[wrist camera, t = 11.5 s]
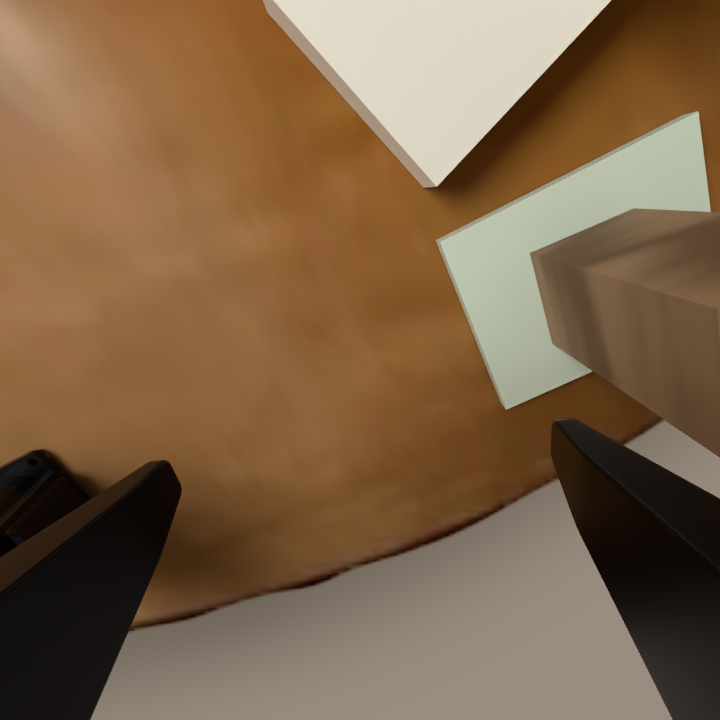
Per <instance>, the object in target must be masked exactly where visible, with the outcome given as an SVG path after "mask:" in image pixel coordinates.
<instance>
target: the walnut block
mask: <svg viewBox="0 0 720 720" xmlns="http://www.w3.org/2000/svg"><path fill="white" fill-rule="evenodd" d="M530 256H531V260H532V264H533V268H534V272H535V276H536V280H537V284H538V288H539V292H540V296H541V300H542V304H543V308H544V312H545V316H546V320H547V324H548V328H549V332H550V336H551V340H552V344H554V345H555V346H556V347H558V348H559V349H561V350H562V351H564V352H565V353H567V354H568V355H570V356H571V357H573V358H574V359H576V360H577V361H579V362H580V363H582V364H583V365H584V366H586V367H587V368H589V369H590V370H592V371H593V372H595V373H596V374H598V375H599V376H601V377H602V378H604V379H605V380H607V381H608V382H610V383H611V384H612V385H614V386H615V387H617V388H618V389H620V390H621V391H623V392H624V393H626V394H627V395H629V396H630V397H632V398H633V399H635V400H636V401H638V402H639V403H640V404H642V405H643V406H645V407H646V408H648V409H649V410H651V411H652V412H654V413H655V414H657V415H658V416H660V417H661V418H663V419H664V420H666V421H667V422H669V423H670V424H672V425H673V426H674V427H676V428H677V429H679V430H680V431H682V432H683V433H685V434H686V435H688V436H689V437H691V438H692V439H694V440H695V441H697V442H698V443H699V444H701V445H702V446H704V447H706V448H707V449H708V450H710V451H711V452H713V453H714V454H716V455H717V456H719V457H720V212H701V211H679V210H658V209H637V208H633V209H631V210H629V211H626V212H624V213H622V214H620V215H617V216H615V217H613V218H610V219H608V220H606V221H603V222H601V223H599V224H596V225H594V226H592V227H589V228H587V229H585V230H582V231H580V232H578V233H575V234H573V235H571V236H568V237H566V238H564V239H561V240H559V241H557V242H554V243H552V244H550V245H547V246H545V247H543V248H540V249H538V250H536V251H533V252H531V253H530Z"/></svg>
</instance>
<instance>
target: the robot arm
mask: <svg viewBox="0 0 720 720" xmlns="http://www.w3.org/2000/svg"><path fill="white" fill-rule="evenodd" d="M551 456H552V460H553V463H554V466H555V469H556V472H557V474H558V477H559V480H560V483H561V485H562V488H563V491H564V494H565V496H566V499H567V502H568V505H569V508H570V510H571V513H572V516H573V518H574V521H575V524H576V526H577V528H578V530H579V533H580V535H581V537H582V539H583V541H584V543H585V545H586V547H587V549H588V551H589V553H590V555H591V557H592V559H593V561H594V563H595V565H596V567H597V569H598V571H599V573H600V575H601V577H602V579H603V581H604V583H605V585H606V587H607V589H608V591H609V593H610V595H611V597H612V599H613V601H614V603H615V605H616V607H617V609H618V611H619V613H620V615H621V617H622V619H623V621H624V623H625V625H626V627H627V629H628V631H629V633H630V635H631V637H632V639H633V641H634V643H635V645H636V647H637V649H638V651H639V653H640V655H641V657H642V659H643V661H644V663H645V665H646V667H647V669H648V671H649V673H650V675H651V677H652V679H653V681H654V683H655V685H656V687H657V689H658V691H659V693H660V695H661V697H662V699H663V701H664V703H665V705H666V707H667V709H668V711H669V713H670V715H671V717H672V719H673V720H720V499H719V498H717V497H716V496H714V495H712V494H710V493H708V492H707V491H705V490H703V489H701V488H699V487H698V486H696V485H694V484H692V483H690V482H688V481H686V480H685V479H683V478H681V477H680V476H678V475H676V474H674V473H672V472H671V471H669V470H667V469H665V468H663V467H661V466H660V465H658V464H656V463H654V462H652V461H650V460H649V459H647V458H645V457H643V456H642V455H640V454H638V453H636V452H634V451H632V450H631V449H629V448H627V447H625V446H623V445H622V444H620V443H618V442H616V441H614V440H613V439H611V438H609V437H607V436H605V435H603V434H602V433H600V432H598V431H596V430H594V429H593V428H591V427H589V426H587V425H585V424H584V423H582V422H580V421H578V420H576V419H573V418H568V419H559V420H555V421H553V423H552V431H551ZM34 459H35V460H37V461H35V460H34ZM180 496H181V484H180V482H179V480H178V478H177V476H176V474H175V472H174V470H173V468H172V466H171V464H170V463H169V462H168V461H166V460H159V461H151V462H149V463H147V464H145V465H144V466H142V467H141V468H139V469H137V470H136V471H134V472H133V473H131V474H130V475H128V476H127V477H125V478H123V479H122V480H120V481H119V482H117V483H116V484H114V485H113V486H111V487H109V488H108V489H106V490H105V491H103V492H102V493H100V494H99V495H97V496H95V497H94V498H92V499H91V500H90V499H89V498H88V497H87V496H86V495H85V494H84V493H83V492H82V491H81V490H80V489H79V488H78V487H77V486H76V485H75V484H74V483H73V482H72V481H71V480H70V479H69V478H68V477H67V476H66V475H65V474H64V473H63V472H62V471H61V470H60V469H59V468H58V467H57V466H56V465H55V464H54V463H53V462H52V461H51V460H50V459H49V458H48V457H47V456H46V455H45V454H44V453H43V452H41V451H37V450H34V451H30V452H28V453H26V454H25V455H23V456H21V457H19V458H17V459H15V460H13V461H11V462H9V463H7V464H5V465H3V466H1V467H0V720H90V719H91V717H92V715H93V712H94V710H95V708H96V705H97V703H98V701H99V699H100V696H101V694H102V692H103V689H104V687H105V684H106V682H107V680H108V677H109V675H110V673H111V671H112V668H113V666H114V664H115V661H116V659H117V657H118V654H119V652H120V650H121V647H122V645H123V643H124V641H125V638H126V636H127V634H128V631H129V629H130V627H131V624H132V622H133V620H134V617H135V615H136V613H137V610H138V608H139V606H140V603H141V601H142V599H143V596H144V594H145V592H146V589H147V587H148V585H149V582H150V580H151V578H152V576H153V573H154V571H155V569H156V566H157V564H158V561H159V559H160V556H161V554H162V551H163V548H164V546H165V543H166V540H167V536H168V533H169V530H170V527H171V524H172V521H173V518H174V515H175V512H176V509H177V506H178V502H179V499H180Z"/></svg>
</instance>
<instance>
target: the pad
mask: <svg viewBox="0 0 720 720" xmlns="http://www.w3.org/2000/svg"><path fill="white" fill-rule="evenodd" d="M633 208H637V209H658V210H679V211H701V212H711V209H710V201H709V193H708V185H707V177H706V169H705V161H704V153H703V145H702V136H701V128H700V120H699V112H698V111H697V112H693V113H688V114H684V115H681V116H680V117H678V118H676V119H674V120H672V121H670V122H668V123H666V124H664V125H662V126H660V127H658V128H656V129H654V130H652V131H650V132H648V133H646V134H644V135H642V136H640V137H638V138H636V139H634V140H632V141H630V142H628V143H626V144H624V145H622V146H620V147H618V148H616V149H614V150H612V151H610V152H609V153H607V154H605V155H603V156H601V157H599V158H597V159H595V160H593V161H591V162H589V163H587V164H585V165H583V166H581V167H579V168H577V169H575V170H573V171H571V172H569V173H567V174H565V175H563V176H561V177H559V178H557V179H555V180H553V181H551V182H549V183H547V184H545V185H543V186H541V187H539V188H537V189H536V190H534V191H532V192H530V193H528V194H526V195H524V196H522V197H520V198H518V199H516V200H514V201H512V202H510V203H508V204H506V205H504V206H502V207H500V208H498V209H496V210H494V211H492V212H490V213H488V214H486V215H484V216H482V217H480V218H478V219H476V220H474V221H472V222H470V223H468V224H466V225H465V226H463V227H461V228H459V229H457V230H455V231H453V232H451V233H449V234H447V235H445V236H443V237H441V238H439V239H437V240H436V242H437V245H438V247H439V250H440V252H441V255H442V257H443V260H444V262H445V265H446V267H447V270H448V272H449V275H450V277H451V280H452V282H453V285H454V287H455V290H456V292H457V295H458V297H459V300H460V302H461V305H462V307H463V310H464V312H465V315H466V317H467V320H468V322H469V325H470V327H471V330H472V332H473V335H474V337H475V340H476V342H477V345H478V347H479V350H480V352H481V355H482V357H483V360H484V362H485V365H486V367H487V370H488V372H489V375H490V377H491V380H492V382H493V385H494V387H495V390H496V392H497V395H498V397H499V400H500V402H501V404H502V405H503V406H504V408H505V409H506V410H507V409H509V408H511V407H514V406H516V405H518V404H520V403H523V402H525V401H527V400H529V399H532V398H534V397H536V396H538V395H541V394H543V393H545V392H547V391H550V390H552V389H554V388H556V387H559V386H561V385H563V384H565V383H568V382H570V381H572V380H574V379H577V378H579V377H581V376H583V375H586V374H588V373H590V372H592V370H590V369H589V368H587V367H586V366H584V365H583V364H582V363H580V362H579V361H577V360H576V359H574V358H573V357H571V356H570V355H568V354H567V353H565V352H564V351H562V350H561V349H559V348H558V347H556V346H555V345H554V344H552V340H551V336H550V332H549V328H548V324H547V320H546V316H545V312H544V308H543V304H542V300H541V296H540V292H539V288H538V284H537V280H536V276H535V272H534V268H533V264H532V260H531V256H530V253H531V252H533V251H536V250H538V249H540V248H543V247H545V246H547V245H550V244H552V243H554V242H557V241H559V240H561V239H564V238H566V237H568V236H571V235H573V234H575V233H578V232H580V231H582V230H585V229H587V228H589V227H592V226H594V225H596V224H599V223H601V222H603V221H606V220H608V219H610V218H613V217H615V216H617V215H620V214H622V213H624V212H626V211H629V210H631V209H633Z"/></svg>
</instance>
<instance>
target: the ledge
mask: <svg viewBox="0 0 720 720" xmlns="http://www.w3.org/2000/svg"><path fill="white" fill-rule="evenodd" d="M610 1H611V0H263V2H264V5H265V7H266V10H267V13H268V14H269V15H270V16H271V17H272V18H273V19H274V20H275V22H276V23H277V24H278V25H279V26H280V27H281V28H282V29H283V31H284V32H285V33H286V34H287V35H288V36H289V37H290V38H291V40H292V41H293V42H294V43H295V44H296V45H297V46H298V47H299V49H300V50H301V51H302V52H303V53H304V54H305V55H306V56H307V57H308V59H309V60H310V61H311V62H312V63H313V64H314V65H315V66H316V68H317V69H318V70H319V71H320V72H321V73H322V74H323V75H324V77H325V78H326V79H327V80H328V81H329V82H330V83H331V84H332V86H333V87H334V88H335V89H336V90H337V91H338V92H339V93H340V95H341V96H342V97H343V98H344V99H345V100H346V101H347V102H348V103H349V105H350V106H351V107H352V108H353V109H354V110H355V111H356V112H357V114H358V115H359V116H360V117H361V118H362V119H363V120H364V121H365V123H366V124H367V125H368V126H369V127H370V128H371V129H372V130H373V132H374V133H375V134H376V135H377V136H378V137H379V138H380V139H381V141H382V142H383V143H384V144H385V145H386V146H387V147H388V148H389V149H390V151H391V152H392V153H393V154H394V155H395V156H396V157H397V158H398V160H399V161H400V162H401V163H402V164H403V165H404V166H405V167H406V169H407V170H408V171H409V172H410V173H411V174H412V175H413V176H414V178H415V179H416V180H417V181H418V182H419V183H420V184H421V185H422V186H423V188H426V187H437V186H438V185H439V184H440V183H441V182H442V181H443V180H444V179H445V177H446V176H447V175H448V174H449V173H450V172H451V171H452V170H453V169H454V168H455V167H456V166H457V165H458V164H459V162H460V161H461V160H462V159H463V158H464V157H465V156H466V155H467V154H468V153H469V152H470V151H471V150H472V149H473V148H474V146H475V145H476V144H477V143H478V142H479V141H480V140H481V139H482V138H483V137H484V136H485V135H486V134H487V133H488V132H489V130H490V129H491V128H492V127H493V126H494V125H495V124H496V123H497V122H498V121H499V120H500V119H501V118H502V117H503V115H504V114H505V113H506V112H507V111H508V110H509V109H510V108H511V107H512V106H513V105H514V104H515V103H516V102H517V101H518V99H519V98H520V97H521V96H522V95H523V94H524V93H525V92H526V91H527V90H528V89H529V88H530V87H531V86H532V85H533V83H534V82H535V81H536V80H537V79H538V78H539V77H540V76H541V75H542V74H543V73H544V72H545V71H546V70H547V68H548V67H549V66H550V65H551V64H552V63H553V62H554V61H555V60H556V59H557V58H558V57H559V56H560V55H561V54H562V52H563V51H564V50H565V49H566V48H567V47H568V46H569V45H570V44H571V43H572V42H573V41H574V40H575V39H576V38H577V36H578V35H579V34H580V33H581V32H582V31H583V30H584V29H585V28H586V27H587V26H588V25H589V24H590V23H591V21H592V20H593V19H594V18H595V17H596V16H597V15H598V14H599V13H600V12H601V11H602V10H603V9H604V8H605V7H606V5H607V4H608V3H609V2H610Z"/></svg>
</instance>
